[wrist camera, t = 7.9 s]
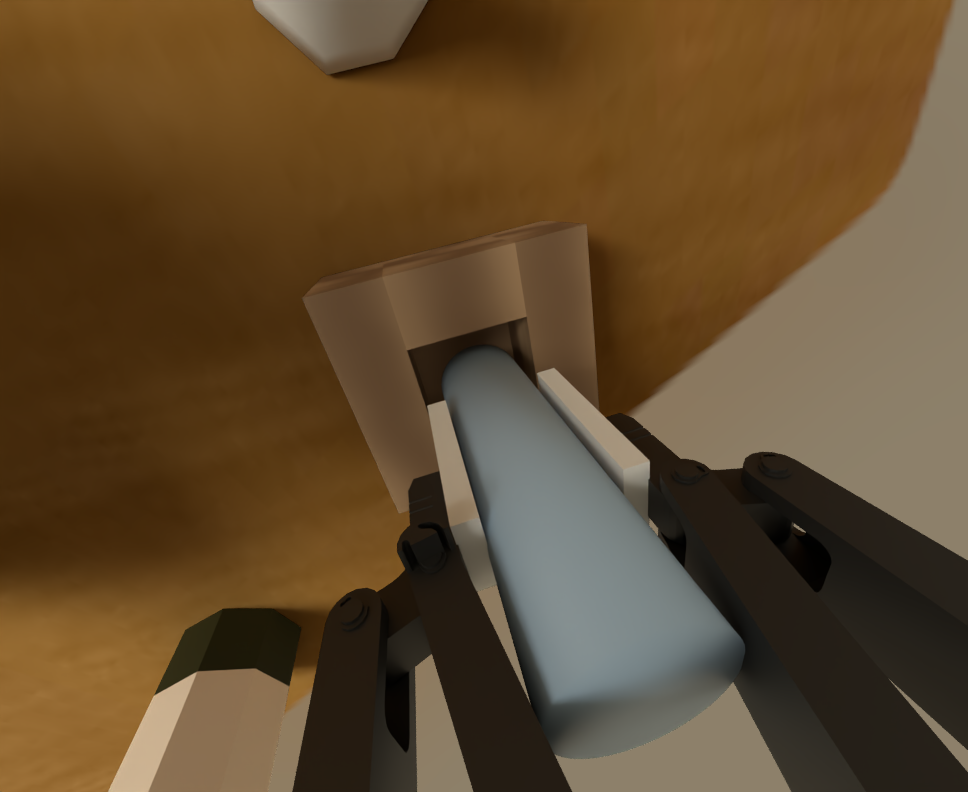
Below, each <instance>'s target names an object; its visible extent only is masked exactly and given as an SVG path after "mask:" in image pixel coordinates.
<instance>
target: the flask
mask: <svg viewBox="0 0 968 792" xmlns="http://www.w3.org/2000/svg"><path fill="white" fill-rule="evenodd" d="M252 1H253V3H254V6H255V8H256V10H257V11H258V12H259V13H260V14H261V15H262V16H264V17H265V18H266V19H267V20H268V21H269V22H270V23H271V24H272V25H273V26H274V27H275V28H277V29H278V30H279V31H280V32H281V33H282V34H283V35H284V36H285V37H286V38H287V39H288V40H290V41H291V42H292V43H293V44H294V45H295V46H296V47H297V48H298V49H299V50H300V51H302V52H303V53H304V54H305V55H306V56H307V57H308V58H309V59H310V60H311V61H312V62H313V63H315V64H316V65H317V66H318V67H319V68H320V69H321V70H322V71H323V72H324V73H325V74H326V75H328V74H332V73H337V72H341V71H345V70H349V69H353V68H357V67H361V66H365V65H370V64H374V63H378V62H382V61H386V60H390V59H394V57H395V56H396V54H397V52H398V51H399V49H400V47H401V45H402V44H403V42H404V40H405V39H406V37H407V35H408V34H409V32H410V30H411V28H412V27H413V25H414V23H415V22H416V20H417V18H418V17H419V15H420V13H421V12H422V10H423V8H424V6H425V5H426V3H427V1H428V0H252Z"/></svg>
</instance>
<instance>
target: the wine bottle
mask: <svg viewBox="0 0 968 792" xmlns="http://www.w3.org/2000/svg"><path fill="white" fill-rule="evenodd" d="M300 631H301V627H299V626H298V625H296V624H295V623H293V622H292V621H290V620H289V619H287V618H286V617H284V616H283V615H281V614H280V613H278V612H277V611H275V610H273V609H222V610H220V611H219V612H217V613H215V614H213V615H212V616H210V617H208V618H206V619H204V620H203V621H201V622H199V623H197V624H195V625H194V626H192V627H190V628H188V629H187V630H185V632H184V634H183V636H182V638H181V640H180V642H179V645H178V647H177V649H176V651H175V653H174V655H173V657H172V659H171V661H170V663H169V665H168V668H167V670H166V672H165V674H164V676H163V678H162V680H161V682H160V684H159V686H158V688H157V691H156V693H155V695H154V697H153V699H152V701H151V703H150V705H149V707H148V709H147V712H146V714H145V716H144V718H143V720H142V722H141V724H140V726H139V728H138V730H137V732H136V735H135V737H134V739H133V741H132V743H131V745H130V747H129V749H128V751H127V753H126V755H125V758H124V760H123V762H122V764H121V766H120V768H119V770H118V772H117V774H116V776H115V778H114V781H113V783H112V785H111V787H110V789H109V791H108V792H268V789H269V784H270V779H271V774H272V769H273V764H274V760H275V755H276V750H277V745H278V740H279V735H280V730H281V725H282V720H283V716H284V711H285V706H286V701H287V696H288V691H289V686H290V681H291V676H292V672H293V667H294V662H295V657H296V652H297V647H298V642H299V637H300Z"/></svg>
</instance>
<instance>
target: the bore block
mask: <svg viewBox="0 0 968 792" xmlns="http://www.w3.org/2000/svg"><path fill="white" fill-rule="evenodd" d="M302 300H303V302H304V304H305V307H306V309H307V311H308V313H309V315H310V318H311V320H312V322H313V324H314V326H315V329H316V331H317V333H318V335H319V338H320V340H321V342H322V344H323V346H324V349H325V351H326V353H327V355H328V357H329V360H330V362H331V364H332V366H333V369H334V371H335V373H336V375H337V377H338V380H339V382H340V384H341V386H342V389H343V391H344V393H345V395H346V397H347V400H348V402H349V404H350V406H351V408H352V411H353V413H354V415H355V417H356V420H357V422H358V424H359V426H360V428H361V431H362V433H363V435H364V437H365V440H366V442H367V444H368V446H369V448H370V451H371V453H372V455H373V457H374V459H375V462H376V464H377V466H378V468H379V471H380V473H381V475H382V477H383V479H384V482H385V484H386V486H387V488H388V490H389V493H390V495H391V497H392V499H393V502H394V504H395V506H396V508H397V510H398V513H399V514H400V513H403V512H406V511H409V498H408V490H409V488H410V486H411V483H412V481H413V479H415V478H418V477H421V476H424V475H428V474H431V473H434V472H437V471H439V466H438V460H437V455H436V450H435V444H434V439H433V434H432V428H431V423H430V417H429V412H428V407H427V405H431V404H434V403H437V402H441V401H444V396H443V392H442V386H441V382H442V376H443V372H444V370H445V368H446V366H447V364H448V363H449V361H450V360H451V359H452V358H453V357H454V356H455V355H456V354H457V353H459V352H460V351H462V350H464V349H466V348H468V347H471V346H475V345H492V346H496V347H499V348H501V349H503V350H504V351H506V352H507V353H508V354H509V355H510V356H511V357H512V358H513V360H514V361H515V362H516V363H517V365H518V366H519V367H520V368H521V369H522V371H523V372H524V373H525V374H526V376H527V377H528V378H529V379H530V380H531V382H532V383H533V384H534V385H535V387H536V388H537V389H538V390H539V391H540V389H539V383H538V376H537V373H539V372H542V371H545V370H549V369H552V368H555V369H556V370H557V371H558V372H559V373H560V374H561V375H562V376H563V377H564V378H565V379H566V380H567V381H568V382H569V383H570V384H571V385H572V386H573V387H574V388H575V389H576V390H577V391H578V392H579V393H580V394H582V395H583V396H584V397H585V398H586V399H587V400H588V401H589V402H590V403H591V404H592V405H593V406H594V407H595V408H596V409H597V410H598V411H599V398H598V384H597V369H596V354H595V340H594V325H593V310H592V296H591V281H590V267H589V252H588V237H587V224H580V223H567V222H554V221H540V222H536V223H533V224H529V225H525V226H521V227H517V228H513V229H509V230H505V231H501V232H497V233H494V234H490V235H486V236H482V237H478V238H474V239H470V240H466V241H462V242H458V243H455V244H451V245H447V246H443V247H439V248H435V249H431V250H427V251H423V252H419V253H415V254H412V255H408V256H404V257H400V258H396V259H392V260H388V261H384V262H380V263H376V264H373V265H369V266H365V267H361V268H357V269H353V270H349V271H345V272H341V273H337V274H333V275H330V276H326V277H322V278H321V279H320V280H319V281H318V282H317V283H316V284H315V285H314V286H313V287H312V288H311V289H310V290H309V291H308V292H307V293H306V294H305V295H304V296H303V297H302Z"/></svg>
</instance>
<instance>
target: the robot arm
mask: <svg viewBox="0 0 968 792" xmlns="http://www.w3.org/2000/svg"><path fill="white" fill-rule="evenodd" d="M537 376H538V383H539V389H540V393H541V394H542V395H543V396H544V398H545V399H546V400H547V401H548V402H549V404H550V405H551V406H552V407H553V409H554V410H555V411H556V412H557V413H558V415H559V416H560V417H561V418H562V420H563V421H564V422H565V423H566V424H567V426H568V427H569V428H570V429H571V431H572V432H573V433H574V434H575V435H576V437H577V438H578V439H579V440H580V442H581V443H582V444H583V445H584V446H585V448H586V449H587V450H588V451H589V453H590V454H591V455H592V456H593V457H594V459H595V460H596V461H597V462H598V464H599V465H600V466H601V467H602V468H603V470H604V471H605V472H606V473H607V475H608V476H609V477H610V478H611V479H612V481H613V482H614V483H615V484H616V486H617V487H618V488H619V489H620V491H621V492H622V493H623V494H624V495H625V497H626V498H627V499H628V500H629V502H630V503H631V504H632V505H633V506H634V508H635V509H636V510H637V511H638V513H639V514H640V515H641V516H642V517H643V519H644V520H645V521H646V522H647V524H648V525H649V518H650V519H651V520H652V521H653V523H654V524H655V525H656V526H657V527H658V537H659V538H660V539H661V541H662V542H663V543H664V544H665V546H666V547H667V548H668V549H669V550H670V552H671V553H672V554H673V555H674V557H675V558H676V559H677V560H678V561H679V563H680V564H681V565H682V566H683V568H684V569H685V570H686V571H687V572H688V574H689V575H690V576H691V577H692V579H693V580H694V581H695V582H696V583H697V585H698V586H699V587H700V588H701V590H702V591H703V592H704V593H705V594H706V596H707V597H708V598H709V599H710V601H711V602H712V603H713V604H714V605H715V607H716V608H717V609H718V610H719V612H720V613H721V614H722V615H723V617H724V618H725V619H726V620H727V621H728V623H729V624H730V625H731V626H732V628H733V629H734V630H735V631H736V632H737V634H738V635H739V636H740V637H741V639H742V640H743V642H744V645H745V655H744V659H743V663H742V667H741V670H740V671H739V673H738V675H737V677H736V678H735V679H734V681H733V682H734V684H735V686H736V687H737V690H738V691H739V693H740V695H741V697H742V699H743V701H744V703H745V705H746V707H747V708H748V710H749V712H750V714H751V716H752V718H753V720H754V722H755V724H756V725H757V727H758V729H759V731H760V733H761V735H762V737H763V739H764V741H765V742H766V744H767V746H768V748H769V750H770V752H771V754H772V756H773V758H774V759H775V761H776V763H777V765H778V767H779V769H780V771H781V773H782V775H783V777H784V778H785V780H786V782H787V784H788V786H789V788H790V790H791V792H968V772H967V771H966V770H965V768H964V767H963V766H962V765H961V764H960V763H959V761H958V760H957V759H956V758H955V757H954V755H953V754H952V753H951V752H950V751H949V750H948V748H947V747H946V746H945V745H944V744H943V742H942V741H941V740H940V739H939V738H938V737H937V735H936V734H935V733H934V732H933V731H932V730H931V728H930V727H929V726H928V725H927V724H926V723H925V721H924V720H923V719H922V718H921V717H920V716H919V714H918V713H917V712H916V711H915V710H914V708H913V707H912V706H911V705H910V704H909V702H908V701H907V700H906V699H905V698H904V697H903V695H902V694H901V693H900V692H899V691H898V690H897V688H896V687H895V686H894V685H893V684H892V683H891V681H892V682H893V683H894V684H895V685H896V686H897V687H899V688H900V689H901V690H902V691H903V692H904V693H905V694H906V695H907V696H909V697H910V698H911V699H912V700H913V701H914V702H915V703H916V704H917V705H919V706H920V707H921V708H922V709H923V710H924V711H925V712H926V713H927V714H928V715H930V716H931V717H932V718H933V719H934V720H935V721H936V722H937V723H938V724H940V725H941V726H942V727H943V728H944V729H945V730H946V731H947V732H948V733H949V734H951V735H952V736H953V737H954V738H955V739H956V740H957V741H958V742H959V743H961V744H962V745H963V746H964V747H965V748H966V749H967V750H968V560H966V559H964V558H962V557H961V556H959V555H957V554H956V553H954V552H952V551H950V550H948V549H947V548H945V547H944V546H942V545H940V544H939V543H937V542H935V541H933V540H932V539H930V538H928V537H927V536H925V535H923V534H921V533H920V532H918V531H916V530H915V529H912V528H911V527H909V526H908V525H906V524H904V523H903V522H901V521H899V520H897V519H896V518H894V517H892V516H891V515H888V514H887V513H885V512H884V511H882V510H880V509H879V508H877V507H875V506H873V505H872V504H870V503H868V502H866V501H865V500H863V499H862V498H860V497H858V496H856V495H855V494H853V493H851V492H850V491H848V490H846V489H844V488H843V487H841V486H839V485H838V484H836V483H834V482H832V481H831V480H829V479H827V478H825V477H824V476H822V475H820V474H819V473H817V472H815V471H814V470H812V469H810V468H808V467H807V466H805V465H803V464H802V463H800V462H798V461H796V460H795V459H792V458H790V457H788V456H786V455H782V454H777V453H772V452H759V453H754V454H751V455H749V456H748V457H747V458H745V461H744V464H743V468H740V469H726V470H710V469H709V468H708V467H707V466H706V465H704V464H702V463H700V462H697V461H694V460H689V459H680V458H679V457H678V456H677V455H675V454H674V453H673V452H672V451H671V450H670V449H668V448H667V447H666V446H665V445H664V444H663V443H661V442H660V441H659V440H658V439H657V438H656V437H655V436H653V435H651V433H650V432H649V431H648V430H646V429H645V428H643V426H642V425H641V424H639V423H638V422H637V421H636V420H635V419H634V418H631V417H629V416H626V415H624V414H621V413H618V414H615V415H612V416H609V417H604V416H603V415H602V414H601V413H600V412H599V411H598V410H597V409H596V408H595V407H594V406H593V405H592V404H591V403H590V402H589V401H588V400H587V399H586V398H585V397H584V396H583V395H582V394H580V393H579V392H578V391H577V390H576V389H575V388H574V387H573V386H572V385H571V384H570V383H569V382H568V381H567V380H566V379H565V378H564V377H563V376H562V375H561V374H560V373H559V372H558V371H557V370H556V369H555V368H552V369H549V370H545V371H542V372H539V373H537ZM427 407H428V412H429V417H430V423H431V428H432V434H433V439H434V444H435V450H436V455H437V460H438V466H439V471H437V472H434V473H431V474H428V475H424V476H421V477H418V478H415V479H413V481H412V483H411V486H410V488H409V490H408V498H409V513H410V526H409V527H407V529H406V530H405V531H404V532H403V533H402V534H401V536H400V538H399V541H398V543H397V553H398V555H399V557H400V559H401V561H402V563H403V565H404V567H405V571H404V572H403V573H402V574H401V575H400V576H399V577H398V578H397V579H396V580H394V581H393V582H392V583H390V584H389V585H387V586H386V587H384V588H383V589H381V590H380V591H378V592H377V593H376V591H375V590H372V589H369V588H362V589H356V590H354V591H352V592H350V593H348V594H346V595H345V596H344V597H342V598H341V599H340V600H339V601H338V602H337V603H336V604H335V606H334V607H333V608H332V610H331V611H330V613H329V615H328V618H327V621H326V623H325V628H324V634H323V639H322V644H321V649H320V654H319V659H318V664H317V669H316V674H315V679H314V684H313V690H312V695H311V700H310V705H309V710H308V716H307V720H306V726H305V730H304V736H303V741H302V746H301V751H300V756H299V761H298V766H297V771H296V776H295V781H294V787H293V791H292V792H417V767H416V766H417V764H416V707H415V706H416V703H415V702H416V701H415V666H417V665H418V664H419V663H420V662H422V661H423V660H424V659H425V658H427V657H428V656H429V655H431V654H432V655H433V659H434V662H435V666H436V669H437V672H438V676H439V679H440V682H441V685H442V689H443V692H444V695H445V699H446V702H447V705H448V709H449V712H450V715H451V719H452V722H453V725H454V729H455V732H456V735H457V738H458V742H459V745H460V749H461V752H462V755H463V758H464V762H465V765H466V769H467V772H468V775H469V778H470V782H471V785H472V788H473V792H572V791H571V789H570V786H569V784H568V782H567V780H566V778H565V776H564V774H563V772H562V769H561V767H560V766H559V763H558V761H557V759H556V757H555V755H554V753H553V751H552V748H551V746H550V744H549V742H548V740H547V738H546V736H545V734H544V732H543V730H542V727H541V725H540V723H539V721H538V719H537V717H536V715H535V713H534V711H533V709H532V707H531V704H530V702H529V700H528V698H527V696H526V694H525V692H524V690H523V688H522V686H521V683H520V682H519V680H518V677H517V675H516V673H515V671H514V669H513V667H512V665H511V663H510V661H509V658H508V656H507V654H506V652H505V650H504V648H503V646H502V644H501V642H500V640H499V637H498V635H497V633H496V631H495V629H494V627H493V625H492V623H491V621H490V618H489V617H488V614H487V612H486V610H485V608H484V606H483V604H482V602H481V600H480V598H479V595H478V593H477V592H478V591H481V590H484V589H487V588H489V587H492V586H495V585H497V583H496V580H495V576H494V573H493V569H492V566H491V562H490V559H489V554H488V547H487V541H486V538H485V534H484V531H483V527H482V524H481V521H480V517H479V514H478V510H477V507H476V503H475V500H474V496H473V493H472V489H471V486H470V482H469V479H468V476H467V472H466V469H465V465H464V462H463V458H462V455H461V451H460V448H459V444H458V441H457V438H456V434H455V431H454V427H453V424H452V420H451V417H450V414H449V410H448V407H447V404H446V400H444V401H441V402H437V403H434V404H431V405H427ZM794 523H795V524H796V525H797V526H799V527H800V528H802V529H803V530H804V531H806V533H805V532H802V531H800V530H798V529H797V528H795V527H794V526H793V525H794ZM888 678H889V679H890V680H891V681H890V680H889V679H888Z"/></svg>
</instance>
